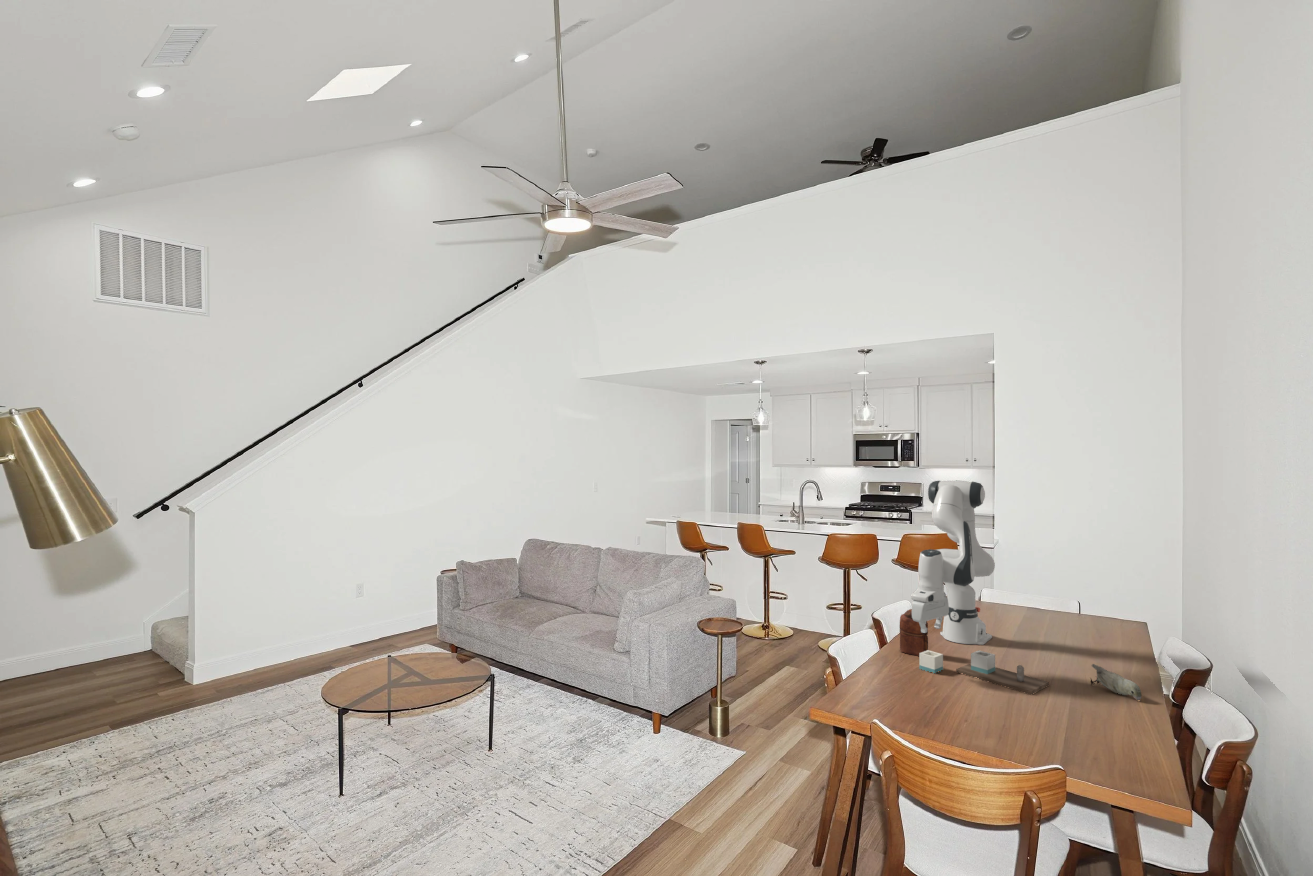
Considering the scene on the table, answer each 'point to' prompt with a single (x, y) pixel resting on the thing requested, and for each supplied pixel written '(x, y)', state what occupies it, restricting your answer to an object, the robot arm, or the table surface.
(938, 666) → the cream sleeve
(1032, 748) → the table surface
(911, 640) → the brown leather case
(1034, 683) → the pin board
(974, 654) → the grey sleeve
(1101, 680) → the decorative bird
